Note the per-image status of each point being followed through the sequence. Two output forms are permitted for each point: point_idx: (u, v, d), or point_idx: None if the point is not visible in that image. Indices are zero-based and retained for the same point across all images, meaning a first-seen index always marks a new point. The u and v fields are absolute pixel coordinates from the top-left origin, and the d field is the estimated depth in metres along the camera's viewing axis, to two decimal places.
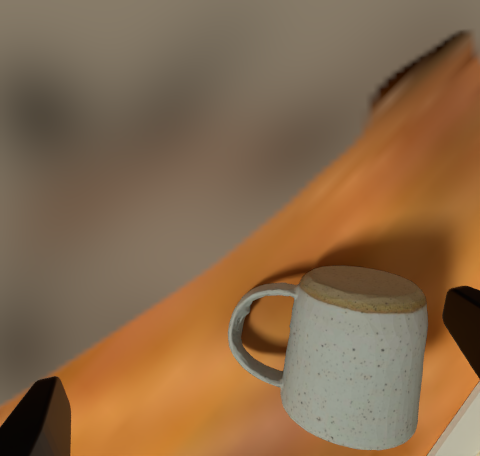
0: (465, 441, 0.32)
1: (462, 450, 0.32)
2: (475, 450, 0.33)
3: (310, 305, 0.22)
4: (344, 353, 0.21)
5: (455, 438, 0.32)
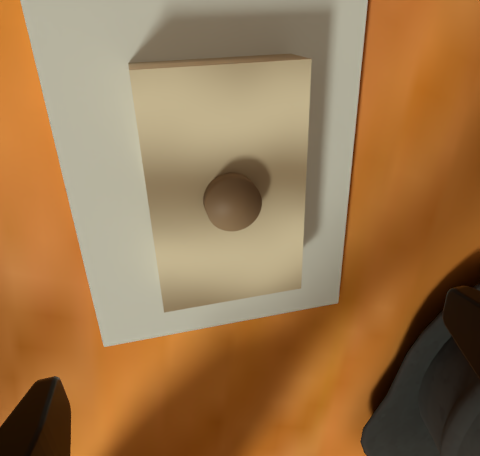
0: (122, 267, 0.21)
1: (130, 278, 0.22)
2: (151, 267, 0.22)
3: None
4: None
5: (101, 272, 0.21)
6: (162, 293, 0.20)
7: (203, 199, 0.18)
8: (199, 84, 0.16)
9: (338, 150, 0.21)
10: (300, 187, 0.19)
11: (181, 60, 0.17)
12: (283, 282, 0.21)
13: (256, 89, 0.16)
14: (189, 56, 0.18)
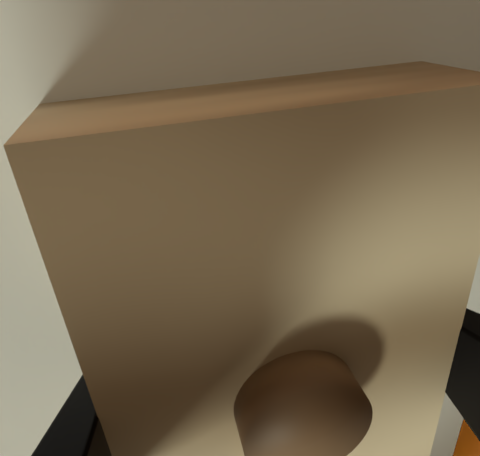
0: None
1: None
2: None
3: None
4: None
5: None
6: None
7: (234, 413, 0.08)
8: (223, 168, 0.06)
9: None
10: (444, 356, 0.09)
11: (171, 91, 0.07)
12: None
13: (372, 167, 0.06)
14: (190, 80, 0.07)
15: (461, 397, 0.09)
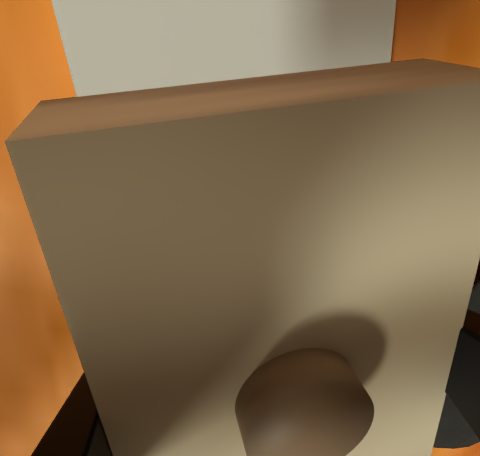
0: None
1: None
2: None
3: None
4: None
5: None
6: None
7: (236, 410, 0.08)
8: (225, 165, 0.06)
9: None
10: (445, 354, 0.09)
11: (173, 88, 0.07)
12: None
13: (374, 164, 0.06)
14: (216, 20, 0.17)
15: (461, 397, 0.09)
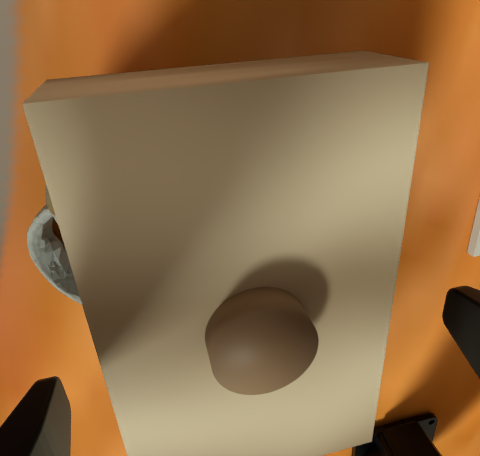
0: None
1: None
2: None
3: None
4: None
5: None
6: None
7: (205, 338, 0.09)
8: (190, 127, 0.07)
9: None
10: (384, 299, 0.10)
11: (154, 71, 0.09)
12: (344, 438, 0.13)
13: (310, 131, 0.08)
14: None
15: None
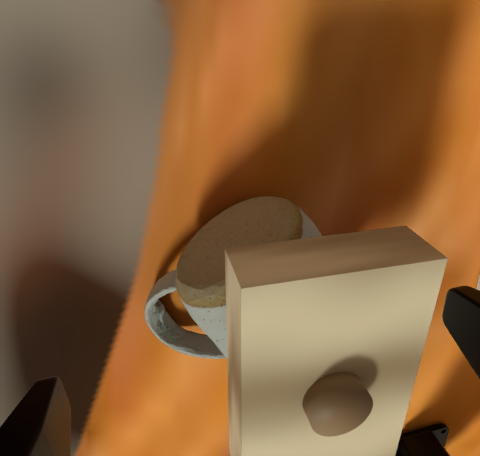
0: None
1: None
2: None
3: (185, 306, 0.19)
4: None
5: None
6: None
7: (304, 401, 0.15)
8: (319, 294, 0.13)
9: None
10: (410, 377, 0.16)
11: (285, 243, 0.15)
12: None
13: (380, 293, 0.14)
14: None
15: None
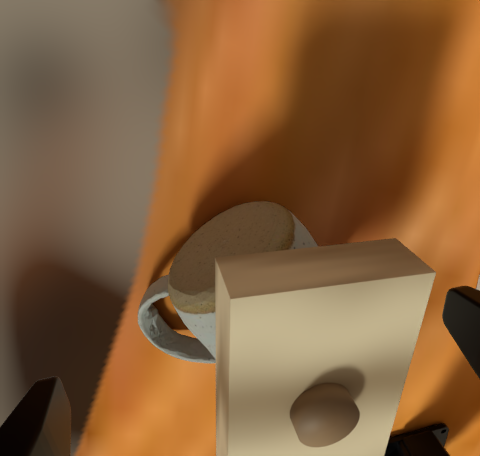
0: None
1: None
2: None
3: (177, 312, 0.19)
4: None
5: None
6: None
7: (291, 412, 0.15)
8: (308, 306, 0.13)
9: None
10: (397, 389, 0.16)
11: (276, 253, 0.15)
12: None
13: (368, 305, 0.14)
14: None
15: None
